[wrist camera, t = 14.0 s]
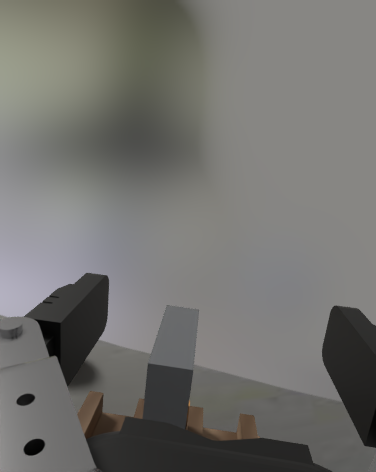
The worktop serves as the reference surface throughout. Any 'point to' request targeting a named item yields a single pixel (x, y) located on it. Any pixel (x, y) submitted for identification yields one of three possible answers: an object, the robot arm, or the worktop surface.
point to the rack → (102, 422)
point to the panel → (171, 367)
